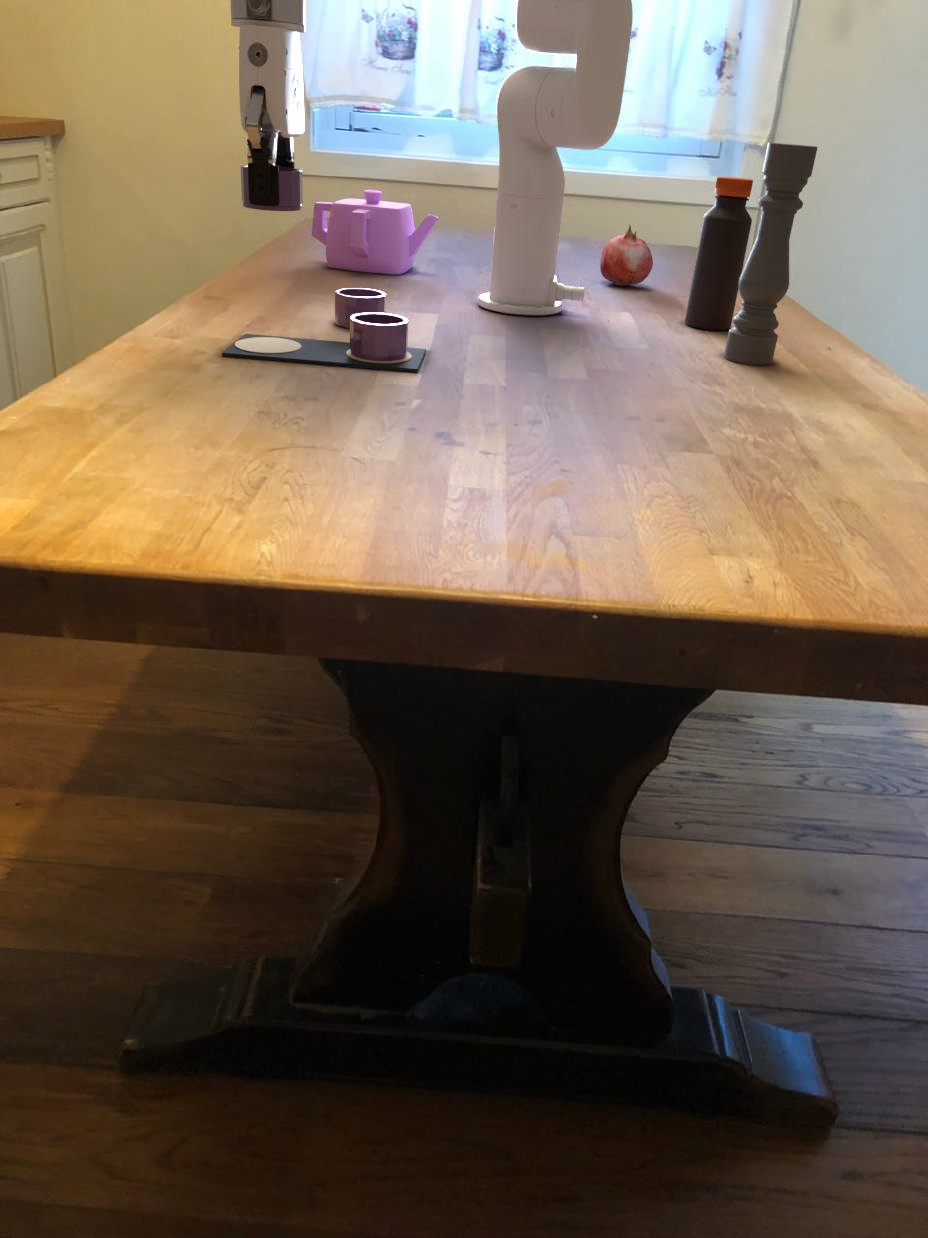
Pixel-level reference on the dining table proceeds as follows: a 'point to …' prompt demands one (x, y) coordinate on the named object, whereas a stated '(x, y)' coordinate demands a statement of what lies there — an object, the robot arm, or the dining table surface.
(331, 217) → the teakettle
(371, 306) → the dish
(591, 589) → the dining table surface
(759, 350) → the candle holder
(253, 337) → the mat
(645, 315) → the dining table surface
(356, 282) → the dining table surface
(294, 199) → the purple cup
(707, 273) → the bottle
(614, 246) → the fruit
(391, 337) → the dish
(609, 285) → the dining table surface
